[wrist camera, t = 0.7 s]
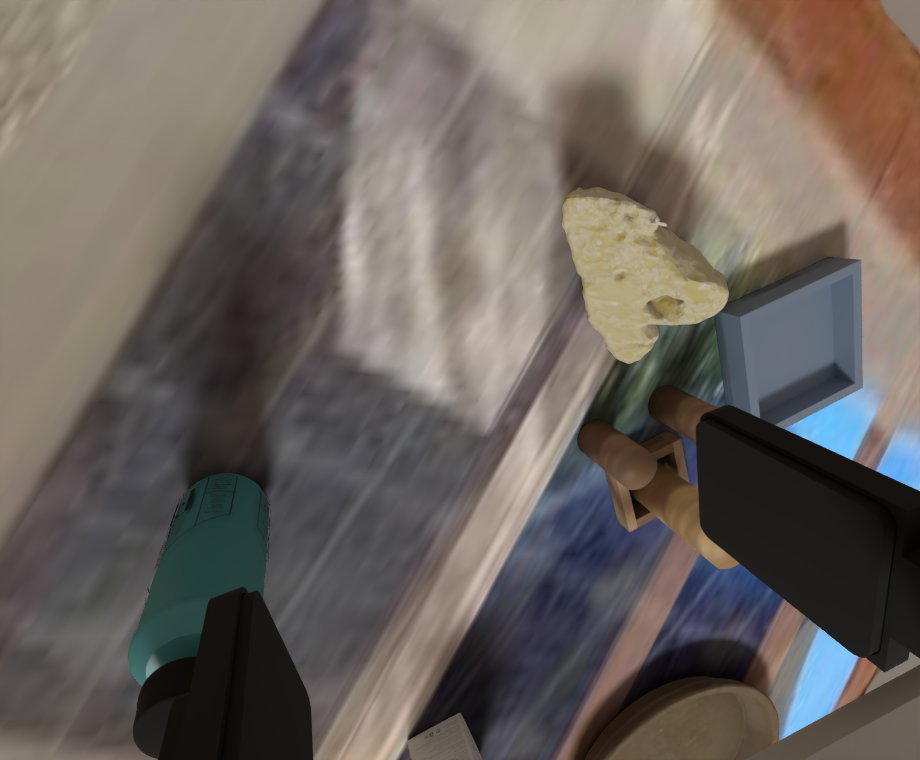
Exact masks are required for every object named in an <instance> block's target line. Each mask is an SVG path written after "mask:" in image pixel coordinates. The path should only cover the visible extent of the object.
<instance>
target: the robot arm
mask: <svg viewBox="0 0 920 760" xmlns="http://www.w3.org/2000/svg"><path fill="white" fill-rule="evenodd" d="M696 448H697V472H698V495H699V519H700V526H701V528H702V530H703V532H704V534H705V535H706V536H707V537H708V538H709V539H710V540H711V541H712V542H714V543H715V544H716V545H717V546H719V547H720V548H721V549H722V550H724V551H725V552H726V553H727V554H729V555H730V556H731V557H732V558H734V559H735V560H736V561H737V562H739V563H740V564H741V565H742V566H744V567H745V568H746V569H747V570H749V571H750V572H751V573H752V574H754V575H755V576H756V577H757V578H759V579H760V580H761V581H762V582H764V583H765V584H766V585H767V586H769V587H770V588H771V589H772V590H774V591H775V592H776V593H777V594H779V595H780V596H781V597H782V598H784V599H785V600H786V601H787V602H789V603H790V604H791V605H792V606H794V607H795V608H796V609H797V610H799V611H800V612H801V613H802V614H804V615H805V616H806V617H807V618H809V619H810V620H811V621H812V622H814V623H815V624H816V625H817V626H819V627H820V628H821V629H822V630H824V631H825V632H826V633H827V634H828V635H830V636H831V637H832V638H833V639H835V640H836V641H837V642H838V643H840V644H841V645H842V646H843V647H845V648H846V649H847V650H848V651H850V652H851V653H853V654H854V655H856V656H858V657H863V658H865V657H866V658H867V659H868V660H869V661H871V662H872V663H873V664H874V665H876V666H877V667H878V668H879V669H881V670H882V671H883V672H886V671H888V670H890V669H891V668H894V667H895V666H897V665H899V664H901V663H903V662H904V661H906V660H908V657H909V651H910V652H912V653H913V654H914V655H916V656H917V657H919V658H920V491H918V490H916V489H914V488H912V487H909V486H907V485H905V484H903V483H901V482H898V481H896V480H894V479H892V478H890V477H888V476H885V475H883V474H881V473H879V472H877V471H874V470H872V469H870V468H868V467H866V466H863V465H861V464H859V463H857V462H855V461H853V460H850V459H848V458H846V457H844V456H842V455H839V454H837V453H835V452H833V451H831V450H828V449H826V448H824V447H822V446H820V445H818V444H815V443H813V442H811V441H809V440H807V439H804V438H802V437H800V436H798V435H796V434H793V433H791V432H789V431H787V430H785V429H783V428H780V427H778V426H776V425H774V424H772V423H769V422H767V421H765V420H763V419H761V418H758V417H756V416H754V415H752V414H750V413H747V412H745V411H743V410H741V409H739V408H737V407H734V406H731V405H725V406H722V407H720V408H717V409H714V410H712V411H709V412H706V413H704V414H703V415H702V416H701V418H700V422H699V423H698V424H697V426H696ZM158 760H313V747H312V722H311V707H310V701H309V697H308V694H307V691H306V688H305V686H304V684H303V682H302V680H301V678H300V676H299V674H298V672H297V670H296V667H295V665H294V663H293V661H292V659H291V657H290V655H289V653H288V651H287V649H286V646H285V644H284V642H283V640H282V638H281V636H280V634H279V632H278V630H277V628H276V625H275V623H274V621H273V619H272V617H271V615H270V613H269V611H268V609H267V607H266V604H265V602H264V600H263V598H262V596H261V594H260V593H259V591H257V590H255V591H253V592H250V593H249V592H248V591H247V589H246V588H245V587H240V588H237V589H235V590H232V591H229V592H227V593H224V594H221V595H219V596H216V597H213V598H211V599H210V600H209V602H208V605H207V609H206V614H205V619H204V624H203V628H202V633H201V638H200V643H199V648H198V652H197V657H196V662H195V667H194V672H193V676H192V681H191V686H190V691H189V692H186V693H184V694H182V695H179V696H177V698H176V699H175V700H174V701H173V704H172V706H171V709H170V712H169V717H168V721H167V725H166V729H165V733H164V738H163V742H162V746H161V750H160V754H159V758H158ZM746 760H920V665H919V666H917V667H915V668H913V669H911V670H909V671H907V672H906V673H904V674H902V675H900V676H898V677H896V678H895V679H893V680H891V681H889V682H887V683H885V684H883V685H882V686H880V687H878V688H876V689H874V690H872V691H871V692H869V693H867V694H865V695H863V696H861V697H859V698H858V699H856V700H854V701H852V702H850V703H848V704H846V705H845V706H843V707H841V708H839V709H837V710H835V711H834V712H832V713H830V714H828V715H826V716H824V717H822V718H821V719H819V720H817V721H815V722H813V723H811V724H810V725H808V726H806V727H804V728H802V729H800V730H799V731H797V732H795V733H793V734H791V735H789V736H788V737H786V738H784V739H782V740H780V741H779V742H777V743H775V744H773V745H771V746H769V747H768V748H766V749H764V750H762V751H760V752H758V753H757V754H755V755H753V756H751V757H749V758H748V759H746Z"/></svg>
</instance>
